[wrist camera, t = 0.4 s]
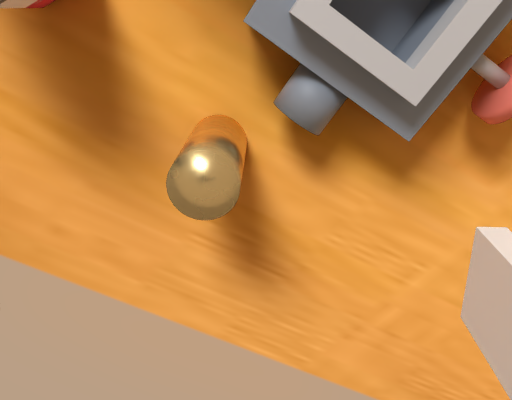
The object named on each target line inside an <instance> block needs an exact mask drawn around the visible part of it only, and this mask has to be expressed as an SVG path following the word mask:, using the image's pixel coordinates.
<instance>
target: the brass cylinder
mask: <svg viewBox="0 0 512 400" xmlns="http://www.w3.org/2000/svg"><path fill="white" fill-rule="evenodd" d="M246 149H247V138H246V134H245V132H244V130H243V128H242V127H241V125H240V124H239V123H238V122H236V121H235V120H234V119H232V118H230V117H228V116H224V115H212V116H209V117H206V118H204V119H203V120H201V121H200V122H199V123H198V124H197V125H196V127H195V128H194V130H193V132H192V133H191V135H190V137H189V138H188V140H187V142H186V143H185V145H184V146H183V148H182V150H181V151H180V153H179V155H178V156H177V158H176V160H175V161H174V163H173V165H172V166H171V168H170V170H169V172H168V175H167V181H166V187H167V193H168V196H169V198H170V200H171V202H172V203H173V205H174V206H175V207H176V208H177V209H178V210H179V211H180V212H181V213H183V214H184V215H186V216H188V217H191V218H193V219H197V220H212V219H216V218H219V217H221V216H223V215H225V214H226V213H228V212H229V211H230V210H231V209H232V208H233V207H234V205H235V204H236V202H237V200H238V197H239V193H240V187H241V181H242V174H243V168H244V161H245V155H246Z"/></svg>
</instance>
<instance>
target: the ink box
mask: <svg viewBox="0 0 512 400" xmlns="http://www.w3.org/2000/svg"><path fill="white" fill-rule="evenodd" d="M54 1H55V0H0V8H43V7H45V6H47V5H49V4H51V3H52V2H54Z"/></svg>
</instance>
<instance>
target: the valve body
mask: <svg viewBox="0 0 512 400" xmlns="http://www.w3.org/2000/svg"><path fill="white" fill-rule="evenodd" d="M511 19H512V0H256V2H255V3H254V5H253V6H252V8H251V10H250V11H249V13H248V14H247V16H246V17H245V19H244V22H245V23H247V24H248V25H249V26H251V27H252V28H253V29H255V30H256V31H258V32H259V33H260V34H262V35H263V36H264V37H266V38H267V39H269V40H270V41H271V42H273V43H274V44H275V45H277V46H278V47H280V48H281V49H282V50H284V51H285V52H286V53H288V54H289V55H291V56H292V57H293V58H295V59H296V60H297V61H299V62H300V65H299V66H298V67H297V69H296V70H295V72H294V73H293V75H292V76H291V77H290V79H289V80H288V82H287V83H286V85H285V86H284V87H283V89H282V90H281V92H280V93H279V95H278V96H277V97H276V99H275V100H274V104H275V105H276V106H277V107H278V108H279V109H280V110H281V111H282V112H283V113H284V114H285V115H286V116H288V117H289V118H290V119H291V120H293V121H294V122H295V123H297V124H298V125H300V126H301V127H303V128H304V129H306V130H308V131H309V132H311V133H313V134H315V135H320V133H321V132H322V131H323V129H324V128H325V127H326V125H327V124H328V123H329V121H330V120H331V119H332V117H333V116H334V115H335V113H336V112H337V111H338V109H339V108H340V107H341V105H342V104H343V103H344V102H345V100H346V99H347V98H350V99H351V100H352V101H354V102H355V103H356V104H358V105H359V106H361V107H362V108H363V109H365V110H366V111H367V112H369V113H370V114H372V115H373V116H374V117H376V118H377V119H378V120H380V121H381V122H383V123H384V124H385V125H387V126H388V127H389V128H391V129H392V130H394V131H395V132H396V133H398V134H399V135H400V136H402V137H403V138H405V139H406V140H407V141H410V140H411V139H412V138H413V136H414V135H415V134H416V133H417V132H418V130H419V129H420V128H421V127H422V126H423V124H424V123H425V122H426V121H427V120H428V118H429V117H430V116H431V115H432V114H433V112H434V111H435V110H436V109H437V108H438V106H439V105H440V104H441V103H442V102H443V100H444V99H445V98H446V97H447V96H448V95H449V93H450V92H451V91H452V90H453V89H454V87H455V86H456V85H457V84H458V83H459V81H460V80H461V79H462V78H463V77H464V75H465V74H466V73H467V72H468V71H469V69H470V68H471V69H473V70H474V71H475V72H477V73H478V74H479V75H480V76H482V77H483V78H484V81H483V82H482V83H481V85H480V86H479V88H478V90H477V91H476V93H475V95H474V98H473V101H472V111H473V113H474V114H476V115H477V116H478V117H480V118H481V119H482V120H484V121H485V122H486V123H488V124H498V123H501V122H504V121H506V120H508V119H510V118H512V55H511V56H509V57H508V58H506V59H505V60H504V61H502V62H501V63H500V64H499V65H498V66H497V65H496V64H495V63H494V62H493V61H491V60H490V59H489V58H488V57H486V56H485V55H484V54H483V53H484V51H485V50H486V49H487V48H488V47H489V45H490V44H491V43H492V42H493V41H494V39H495V38H496V37H497V36H498V35H499V33H500V32H501V31H502V30H503V29H504V27H505V26H506V25H507V24H508V23H509V22H510V20H511Z"/></svg>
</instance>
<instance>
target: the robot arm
mask: <svg viewBox="0 0 512 400" xmlns="http://www.w3.org/2000/svg"><path fill="white" fill-rule="evenodd" d="M461 318H462V320H463V322H464V323H465V325H466V327H467V328H468V330H469V332H470V333H471V335H472V337H473V338H474V340H475V342H476V343H477V345H478V347H479V348H480V350H481V352H482V353H483V355H484V357H485V358H486V360H487V361H488V363H489V365H490V366H491V368H492V370H493V371H494V373H495V375H496V376H497V378H498V380H499V381H500V383H501V385H502V386H503V388H504V390H505V391H506V393H507V395H508V396H509V398H510V399H511V400H512V232H511V231H510V230H509V229H508V228H507V227H476V231H475V237H474V243H473V248H472V254H471V260H470V265H469V271H468V277H467V283H466V288H465V294H464V300H463V305H462V311H461Z"/></svg>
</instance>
